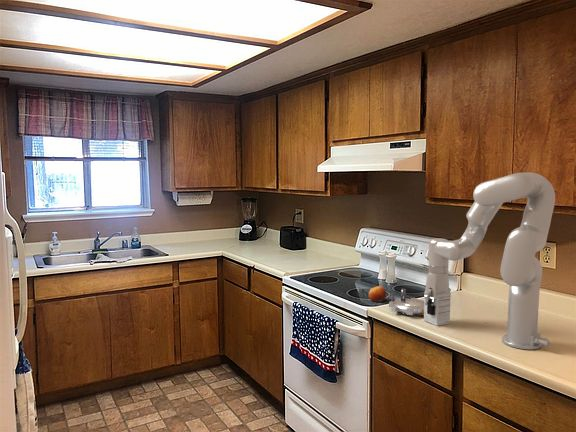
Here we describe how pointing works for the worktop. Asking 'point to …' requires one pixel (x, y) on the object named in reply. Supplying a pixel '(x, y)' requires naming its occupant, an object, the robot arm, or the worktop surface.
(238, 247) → the worktop surface
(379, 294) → the fruit
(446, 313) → the supplement box
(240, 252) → the worktop surface
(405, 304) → the silver knobbed tray
